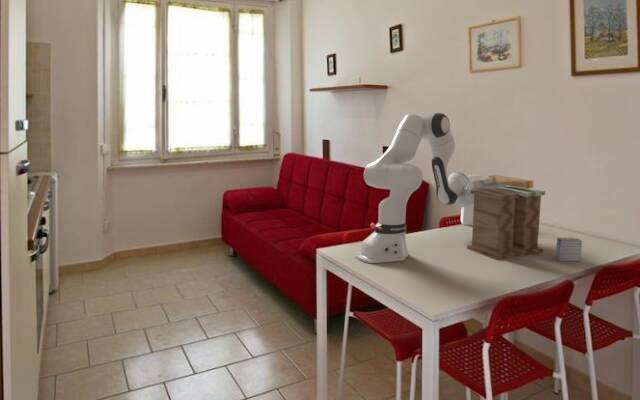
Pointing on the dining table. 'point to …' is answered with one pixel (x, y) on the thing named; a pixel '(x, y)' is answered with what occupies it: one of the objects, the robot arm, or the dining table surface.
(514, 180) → the oak bar
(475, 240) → the twin stand
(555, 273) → the dining table surface
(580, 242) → the medicine box
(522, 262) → the dining table surface
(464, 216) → the milk
